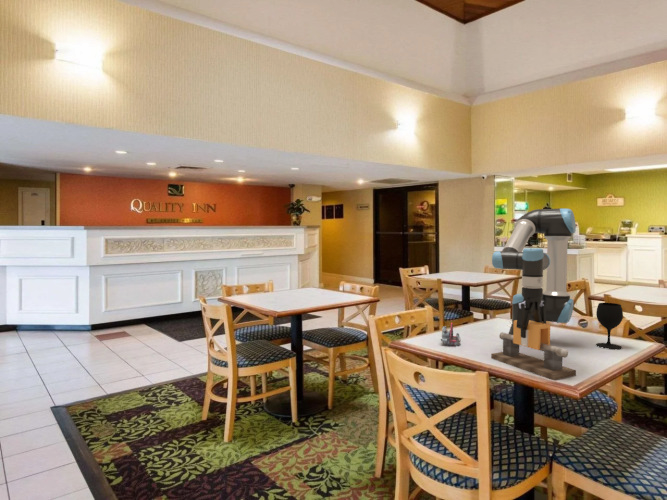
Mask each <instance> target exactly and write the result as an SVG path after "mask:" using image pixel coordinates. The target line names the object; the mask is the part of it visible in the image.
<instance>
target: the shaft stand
mask: <svg viewBox="0 0 667 500" xmlns="http://www.w3.org/2000/svg"><path fill="white" fill-rule="evenodd" d="M499 339H500V340H502V351H500V352H492V353H490V355H491V356H490V358H491V359H493V360H494V361H498V362H500V363H503V364H507V365H509V366H512V367H515V368H517V369H521V370H524V371H527V372H529V373H533V374H534V375H538V376H540V377H541V376H542V377H544V378H547V379H549V380H551V381H552V380H553V381H557V380H561V379H564V378H565V379H566V378H570V377H575V376H577V370H576V369H573V368H570V367H566V366H563V360H564V359H563V358H567V357H568V356H569V351H568V349H566V348H562V347H559V346H555V345H551V344H550V345H548V344H544V343H540V350H539V351H540V352H543V359H541V358H539V357H535V356H532V355H528V354H525V353H521V352H520V345H518V344H515V343H513V335H511V334H508V332H507V333H506V332H503V331H502V332H500V333H499Z"/></svg>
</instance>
